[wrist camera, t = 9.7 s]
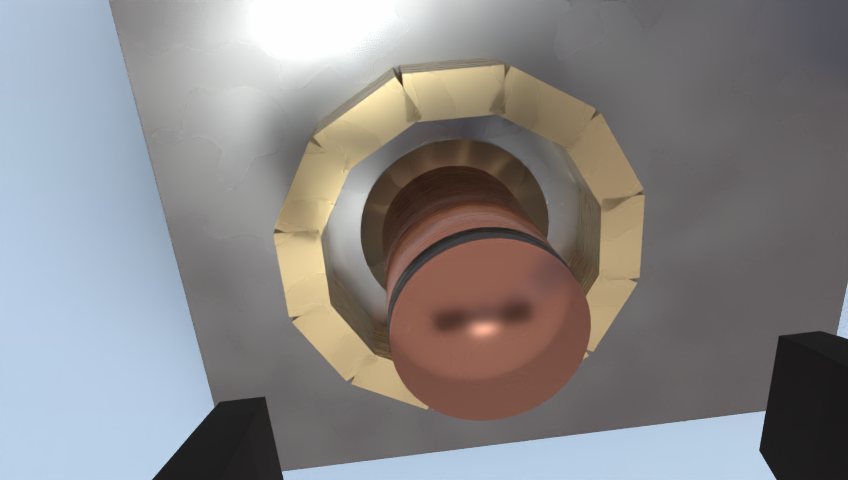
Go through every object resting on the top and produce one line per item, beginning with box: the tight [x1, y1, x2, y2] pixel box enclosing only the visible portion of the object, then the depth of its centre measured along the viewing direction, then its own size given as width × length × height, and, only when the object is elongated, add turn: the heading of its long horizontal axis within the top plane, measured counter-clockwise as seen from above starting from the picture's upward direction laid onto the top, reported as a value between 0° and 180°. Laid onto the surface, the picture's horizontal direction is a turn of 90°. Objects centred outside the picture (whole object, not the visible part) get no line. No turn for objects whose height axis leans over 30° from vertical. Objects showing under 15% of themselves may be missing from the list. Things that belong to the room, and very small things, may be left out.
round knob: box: [382, 166, 591, 421], centre depth 13 cm, size 4×4×5 cm
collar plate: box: [109, 0, 848, 471], centre depth 15 cm, size 18×14×2 cm
